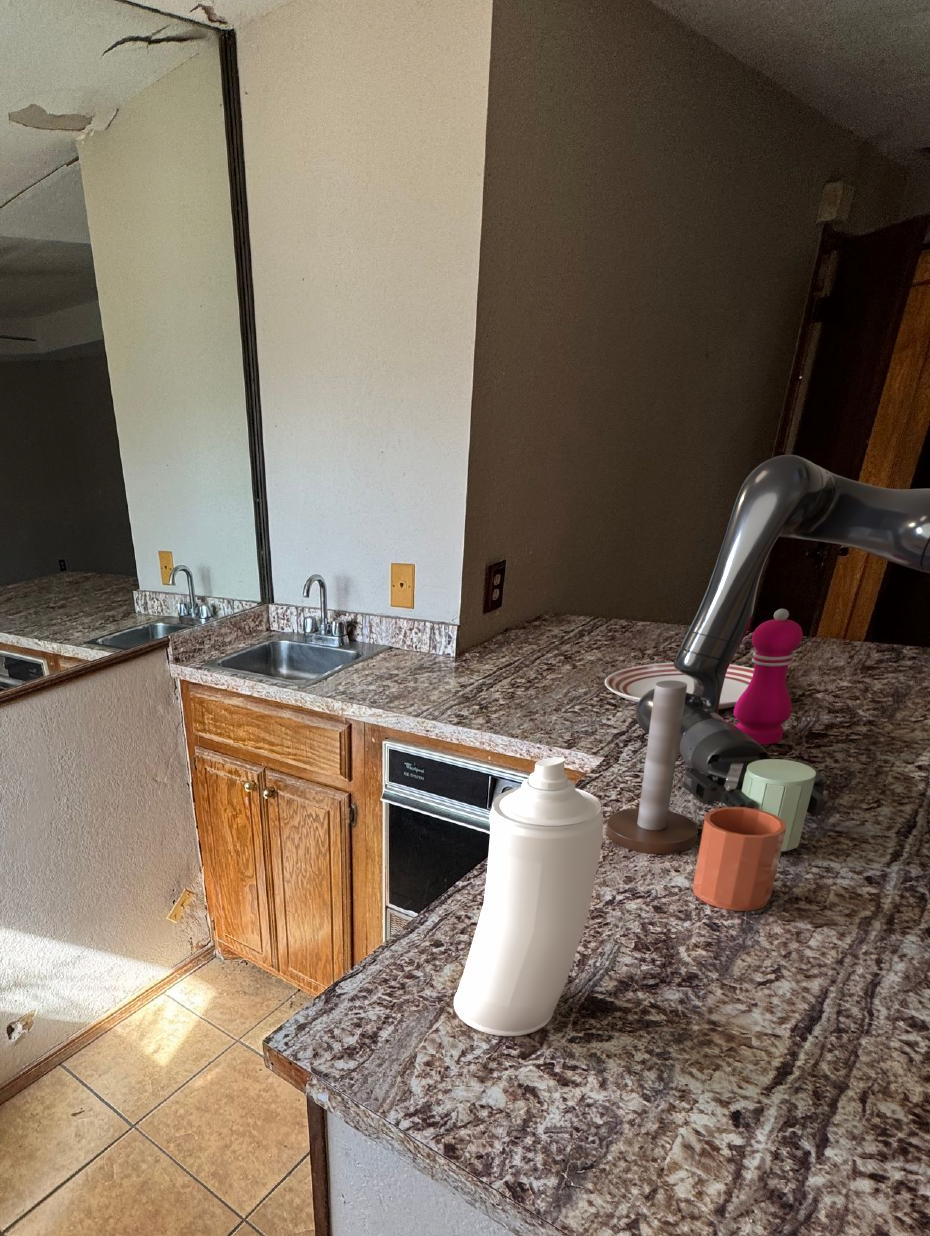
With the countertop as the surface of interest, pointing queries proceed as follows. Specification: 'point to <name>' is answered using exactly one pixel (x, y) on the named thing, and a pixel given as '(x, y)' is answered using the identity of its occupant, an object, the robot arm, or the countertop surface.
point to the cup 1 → (738, 858)
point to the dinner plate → (645, 677)
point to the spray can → (531, 902)
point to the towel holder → (657, 784)
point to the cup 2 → (781, 793)
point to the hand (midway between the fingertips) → (784, 810)
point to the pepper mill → (769, 680)
